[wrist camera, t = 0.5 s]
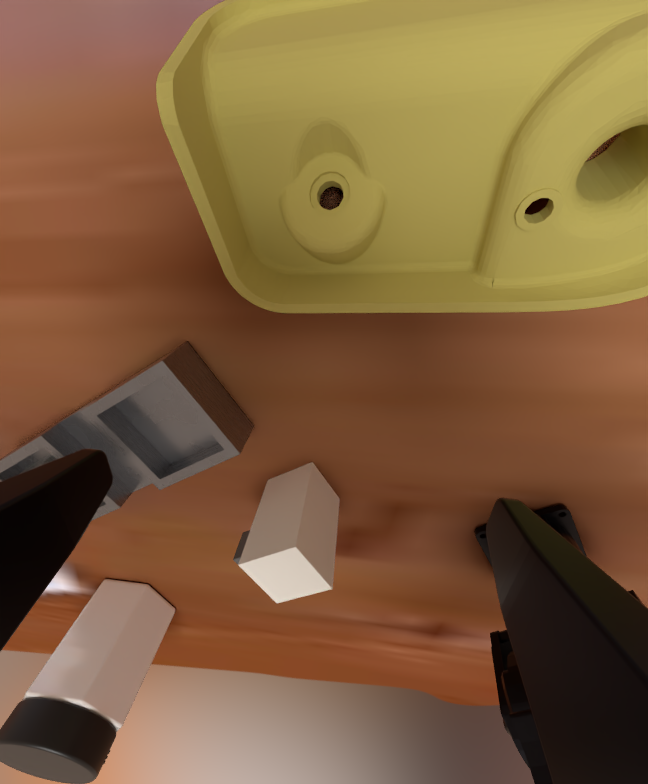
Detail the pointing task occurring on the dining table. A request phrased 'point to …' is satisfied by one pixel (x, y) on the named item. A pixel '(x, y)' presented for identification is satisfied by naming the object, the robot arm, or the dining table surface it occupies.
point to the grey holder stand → (146, 428)
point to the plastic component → (417, 151)
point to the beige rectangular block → (292, 536)
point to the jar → (87, 685)
